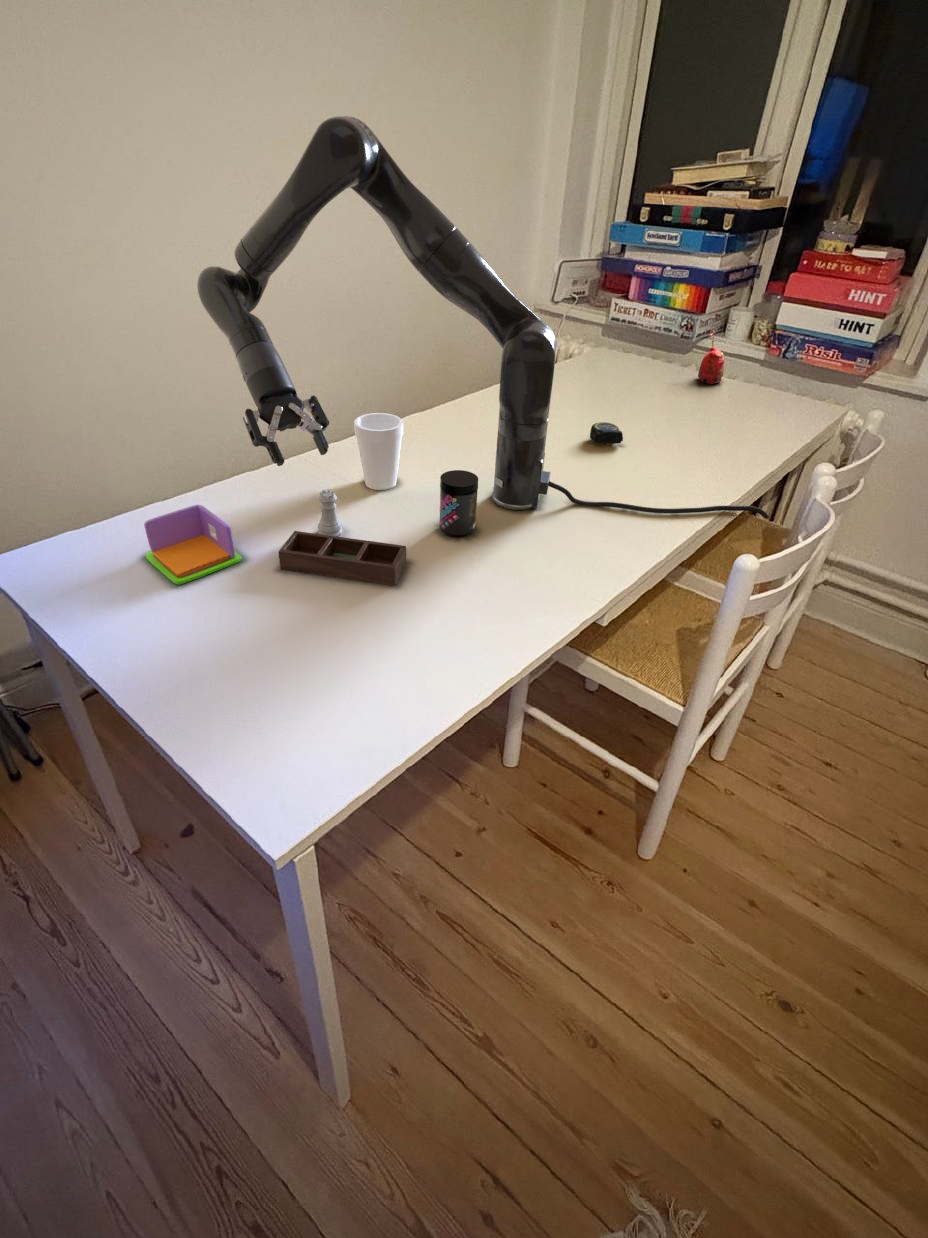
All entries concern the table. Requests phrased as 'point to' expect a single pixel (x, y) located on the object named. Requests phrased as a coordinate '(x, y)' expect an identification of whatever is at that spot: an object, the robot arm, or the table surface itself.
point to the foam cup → (379, 448)
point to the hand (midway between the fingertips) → (303, 458)
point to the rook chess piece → (329, 515)
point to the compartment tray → (343, 558)
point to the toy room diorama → (190, 544)
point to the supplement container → (458, 503)
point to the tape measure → (605, 433)
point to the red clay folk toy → (712, 365)
